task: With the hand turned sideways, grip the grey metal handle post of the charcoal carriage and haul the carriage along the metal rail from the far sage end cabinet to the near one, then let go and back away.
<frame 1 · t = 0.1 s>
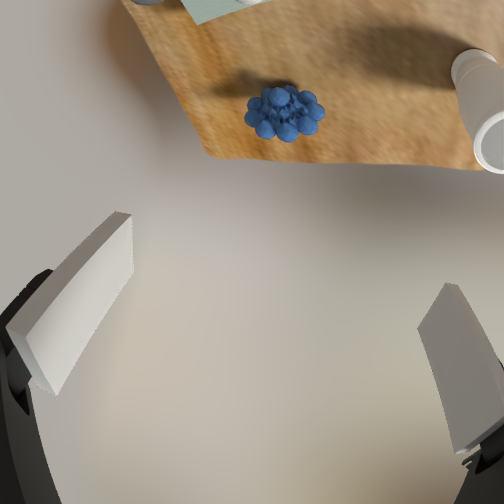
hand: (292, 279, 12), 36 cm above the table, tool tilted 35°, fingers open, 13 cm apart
jar: (475, 71, 28), on the table
grapes: (287, 82, 41), on the table
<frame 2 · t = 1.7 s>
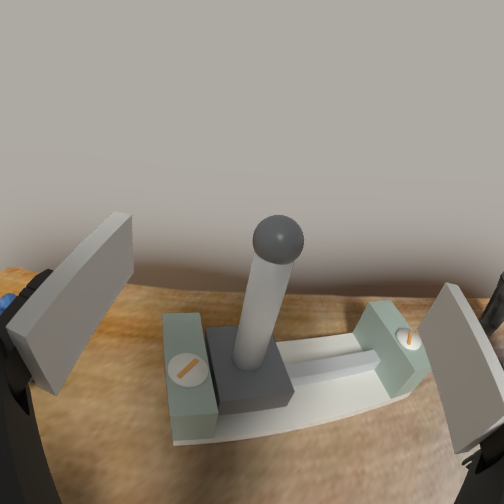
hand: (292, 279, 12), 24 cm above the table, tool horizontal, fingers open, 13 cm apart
carriage: (259, 315, 26), point 13 cm above the table, slide at 7.0 cm
beverage cup: (484, 328, 49), on the table
rail stand: (294, 385, 34), on the table
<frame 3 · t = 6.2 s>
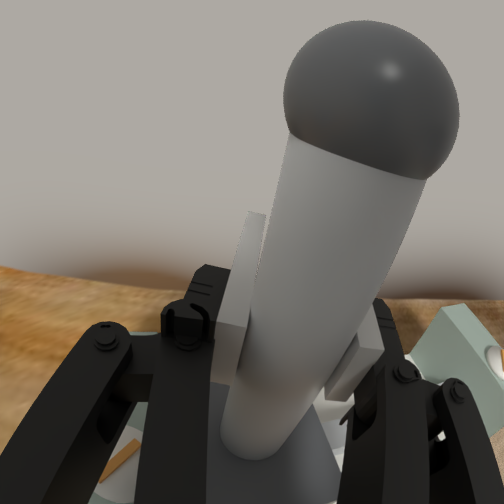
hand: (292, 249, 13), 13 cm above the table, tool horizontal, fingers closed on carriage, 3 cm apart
carriage: (287, 355, 9), point 13 cm above the table, slide at 7.0 cm, touching gripper
rail stand: (329, 449, 18), on the table
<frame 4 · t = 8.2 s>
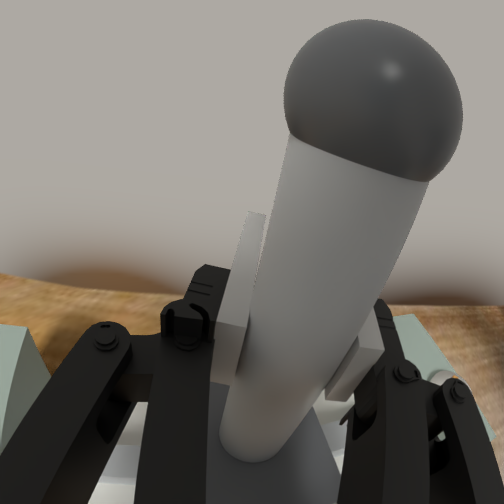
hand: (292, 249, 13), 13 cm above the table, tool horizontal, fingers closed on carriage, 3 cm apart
carriage: (287, 358, 9), point 13 cm above the table, slide at -0.8 cm, touching gripper
rail stand: (221, 472, 16), on the table
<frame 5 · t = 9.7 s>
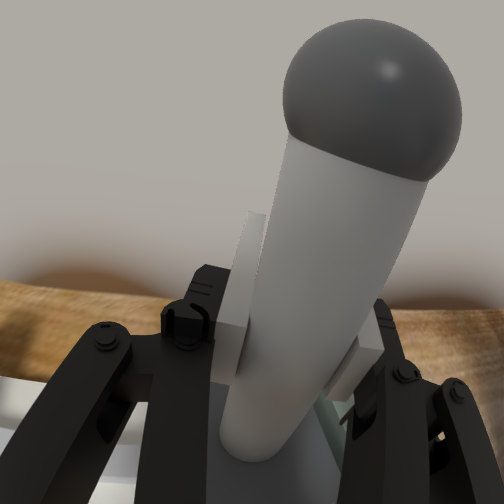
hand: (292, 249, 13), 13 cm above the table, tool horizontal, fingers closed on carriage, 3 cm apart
carriage: (286, 357, 9), point 13 cm above the table, slide at -6.8 cm, touching gripper
rail stand: (128, 475, 14), on the table
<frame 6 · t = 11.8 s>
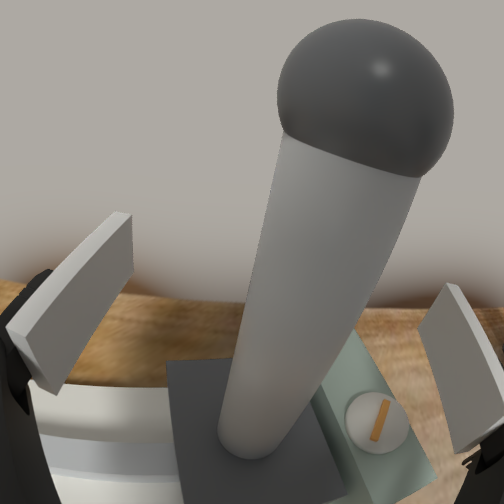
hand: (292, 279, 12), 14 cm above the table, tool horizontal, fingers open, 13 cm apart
carriage: (283, 353, 9), point 13 cm above the table, slide at -6.9 cm
rail stand: (125, 473, 14), on the table
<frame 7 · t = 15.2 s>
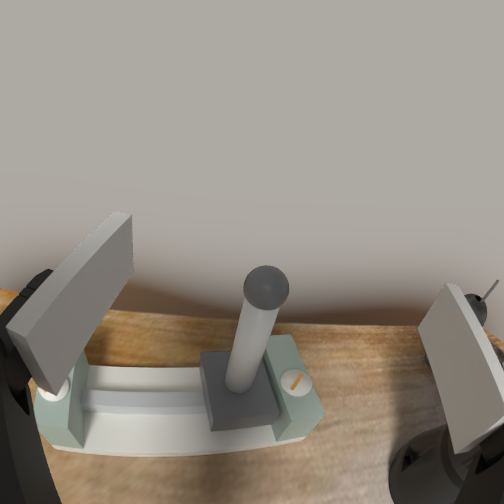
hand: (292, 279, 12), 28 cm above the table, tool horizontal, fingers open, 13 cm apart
carriage: (248, 347, 28), point 13 cm above the table, slide at -6.9 cm
beverage cup: (433, 361, 48), on the table
rail stand: (174, 412, 33), on the table
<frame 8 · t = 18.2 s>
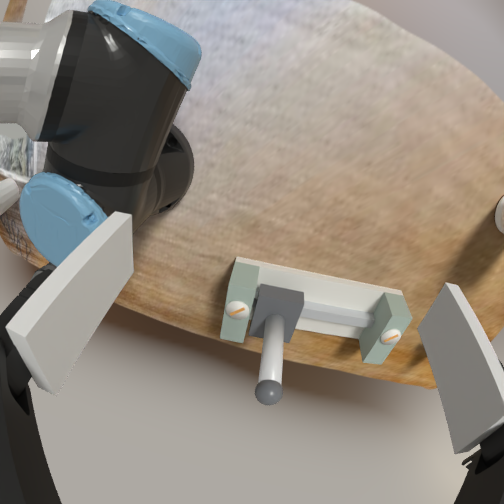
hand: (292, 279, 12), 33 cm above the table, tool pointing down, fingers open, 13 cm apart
shot glass: (11, 189, 49), on the table
carriage: (272, 350, 43), point 13 cm above the table, slide at -6.9 cm
rail stand: (314, 301, 54), on the table
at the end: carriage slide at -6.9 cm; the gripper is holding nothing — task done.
